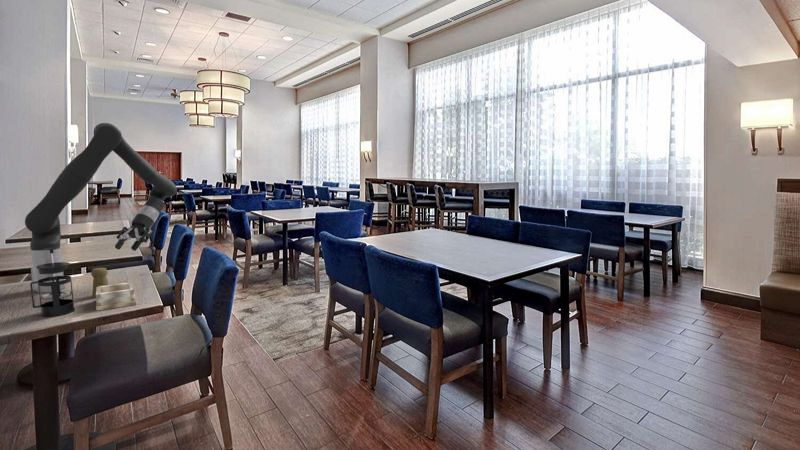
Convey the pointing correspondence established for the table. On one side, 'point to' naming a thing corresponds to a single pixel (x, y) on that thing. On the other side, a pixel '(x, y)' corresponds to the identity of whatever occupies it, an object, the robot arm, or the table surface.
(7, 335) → the table surface
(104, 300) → the cruet holder
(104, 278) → the cork
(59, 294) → the french press
